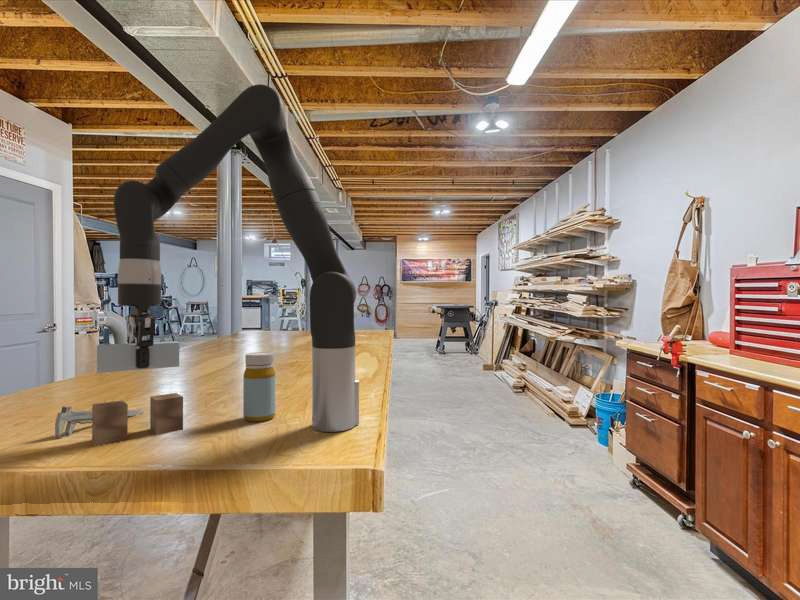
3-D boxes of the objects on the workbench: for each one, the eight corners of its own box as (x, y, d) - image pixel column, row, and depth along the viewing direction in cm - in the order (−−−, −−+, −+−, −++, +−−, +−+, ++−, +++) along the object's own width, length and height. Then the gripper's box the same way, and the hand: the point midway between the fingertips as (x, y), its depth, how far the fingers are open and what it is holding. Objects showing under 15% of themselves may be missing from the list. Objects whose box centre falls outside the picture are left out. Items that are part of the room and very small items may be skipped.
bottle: (262, 423, 92) (262, 356, 93) (236, 421, 95) (236, 354, 95) (281, 415, 99) (281, 352, 99) (256, 413, 101) (256, 351, 101)
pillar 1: (122, 434, 85) (122, 400, 85) (127, 440, 82) (127, 404, 82) (92, 440, 82) (92, 404, 82) (96, 446, 78) (96, 408, 78)
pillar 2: (176, 424, 92) (176, 392, 92) (183, 429, 88) (183, 396, 89) (150, 429, 89) (150, 396, 89) (156, 434, 85) (156, 400, 85)
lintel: (176, 364, 91) (176, 341, 91) (179, 366, 88) (179, 342, 88) (96, 370, 83) (97, 344, 83) (96, 373, 80) (96, 346, 80)
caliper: (59, 440, 82) (59, 408, 82) (54, 440, 83) (54, 408, 83) (145, 413, 102) (145, 387, 102) (141, 413, 102) (141, 387, 103)
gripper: (170, 282, 83) (169, 368, 83) (152, 284, 93) (151, 361, 93) (125, 280, 78) (125, 373, 78) (111, 283, 88) (111, 364, 88)
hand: (139, 366), depth 85 cm, fingers closed on lintel, 4 cm apart
